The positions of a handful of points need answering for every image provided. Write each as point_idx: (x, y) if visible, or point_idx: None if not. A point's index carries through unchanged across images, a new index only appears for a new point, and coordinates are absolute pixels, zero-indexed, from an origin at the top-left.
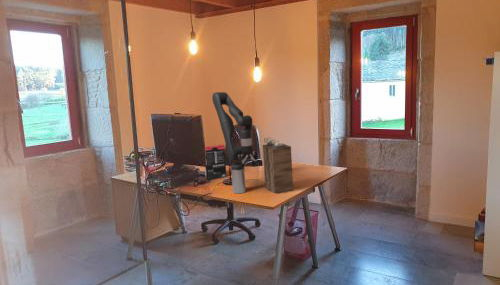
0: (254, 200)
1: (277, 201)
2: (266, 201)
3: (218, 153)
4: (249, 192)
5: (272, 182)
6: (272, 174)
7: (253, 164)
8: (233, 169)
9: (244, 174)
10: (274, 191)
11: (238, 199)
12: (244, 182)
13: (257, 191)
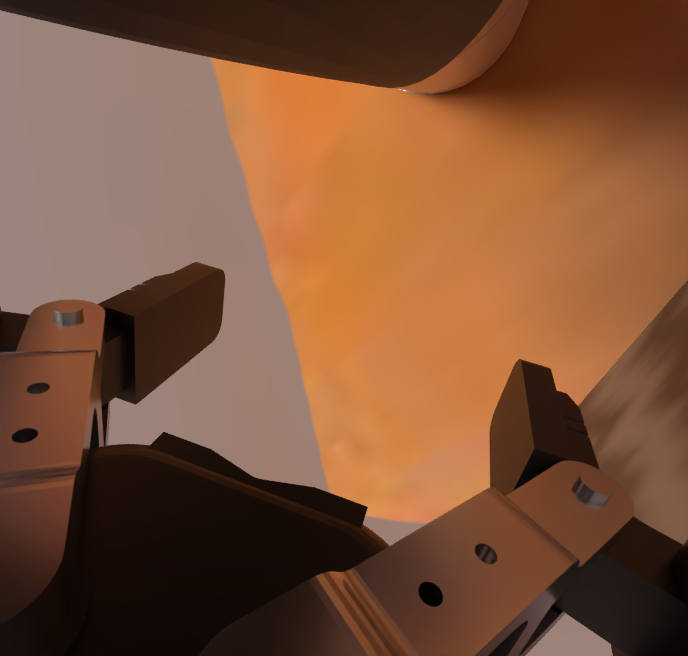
0: (332, 353)
1: (420, 504)
2: (373, 442)
3: None
4: (482, 143)
5: (635, 448)
6: None
7: (497, 442)
8: None
9: (481, 45)
10: (583, 418)
11: (259, 215)
12: (453, 80)
13: (564, 201)
